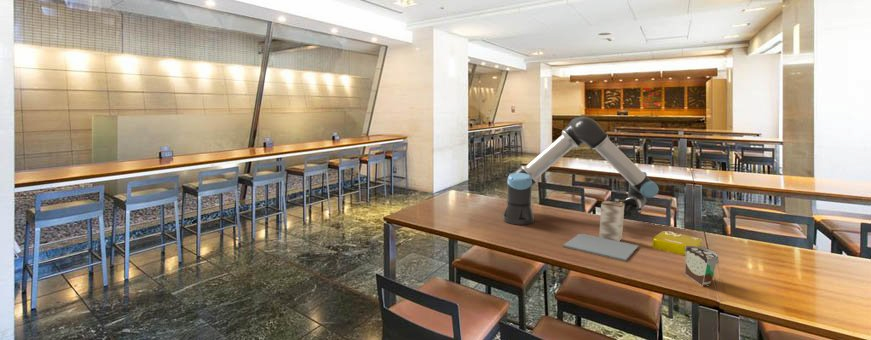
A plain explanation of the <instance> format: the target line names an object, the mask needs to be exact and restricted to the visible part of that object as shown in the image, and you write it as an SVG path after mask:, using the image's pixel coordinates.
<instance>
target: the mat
mask: <svg viewBox="0 0 871 340" xmlns="http://www.w3.org/2000/svg"><path fill="white" fill-rule="evenodd" d="M562 247H563V248H567V249H571V250H574V251H578V252H579V251H580V252H584V253H587V254H593V255H595V256H596V255H597V256H601V257H605V258H608V257H609V258H608V259H612V260H613V259H614V260H618V261H621V262H625V263H626V262H627V261H628V260H629V259H630V257H631V256H632V255H634V253H635V252H636V251H637V250H638V248H639V244H635V243H634V244H632V243H628V242H624V241H615V240H610V239H605V238H600V237H599V236H594V235H589V234H585V233H581V232H580V233H578V234H577V235H576V236H574V237H572V238H571V239H570V240H568V241H566V243H563V245H562ZM636 249H637V250H636ZM635 250H636V251H635ZM634 251H635V252H634Z"/></svg>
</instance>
